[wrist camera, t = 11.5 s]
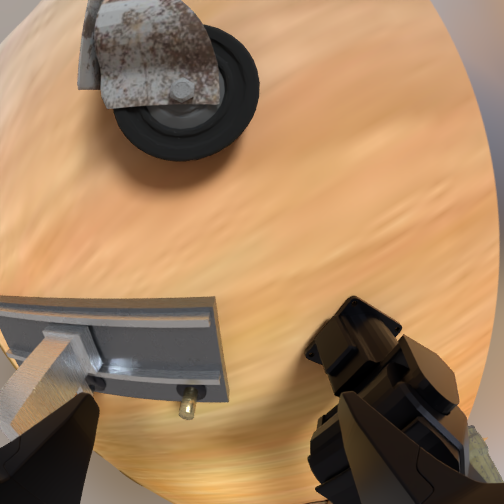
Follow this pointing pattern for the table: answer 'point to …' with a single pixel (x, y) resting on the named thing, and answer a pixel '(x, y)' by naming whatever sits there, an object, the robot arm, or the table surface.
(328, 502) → the alarm clock
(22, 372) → the block
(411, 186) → the table surface
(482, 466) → the thermos
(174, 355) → the rail
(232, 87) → the caster wheel
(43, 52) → the table surface
